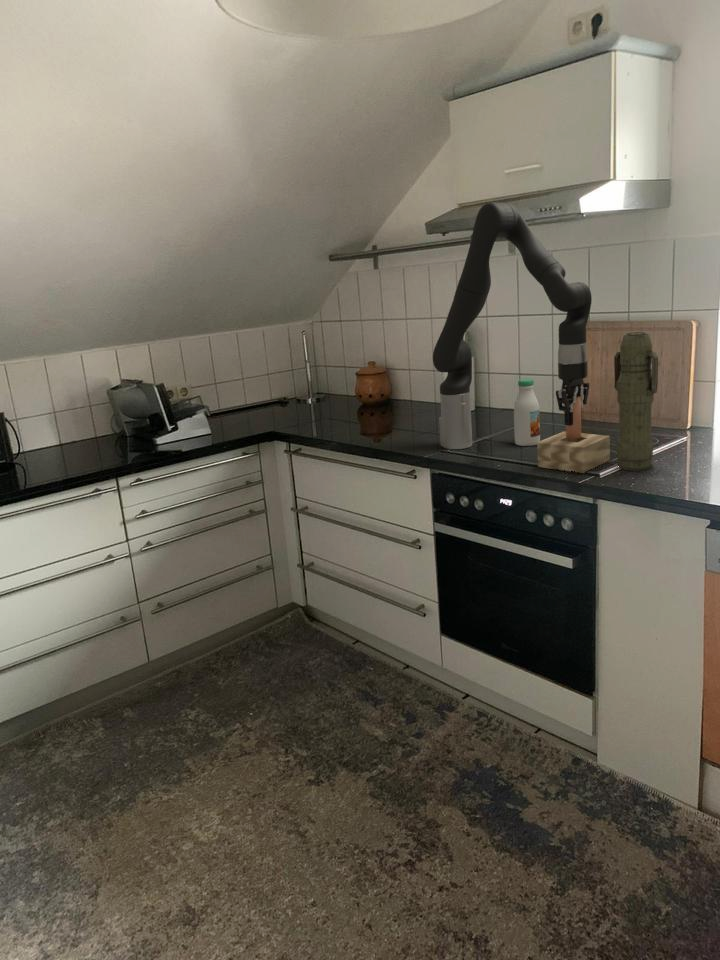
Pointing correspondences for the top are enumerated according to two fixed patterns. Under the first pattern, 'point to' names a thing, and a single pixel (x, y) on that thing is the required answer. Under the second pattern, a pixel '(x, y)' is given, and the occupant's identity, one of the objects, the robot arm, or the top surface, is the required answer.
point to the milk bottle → (526, 415)
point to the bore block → (573, 452)
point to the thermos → (635, 400)
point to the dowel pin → (575, 420)
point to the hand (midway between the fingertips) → (573, 423)
